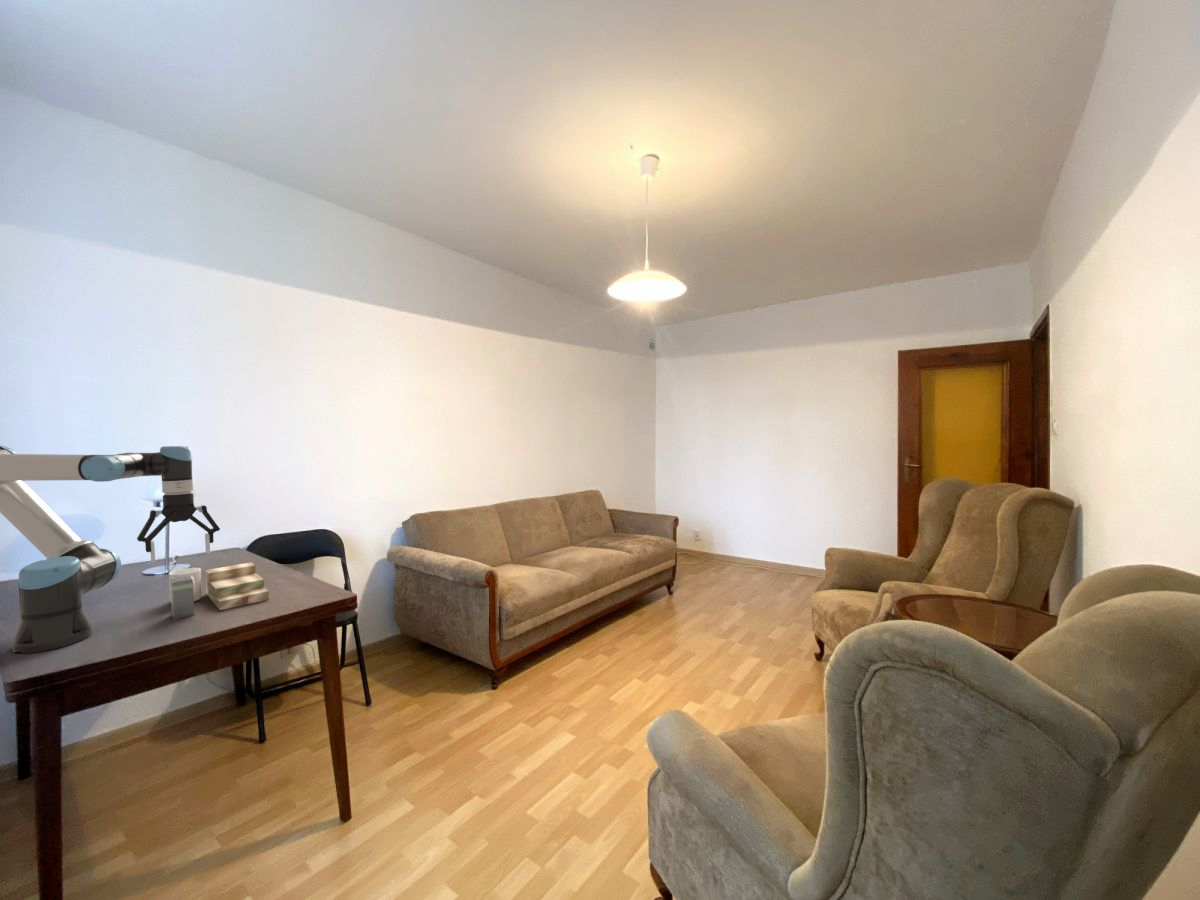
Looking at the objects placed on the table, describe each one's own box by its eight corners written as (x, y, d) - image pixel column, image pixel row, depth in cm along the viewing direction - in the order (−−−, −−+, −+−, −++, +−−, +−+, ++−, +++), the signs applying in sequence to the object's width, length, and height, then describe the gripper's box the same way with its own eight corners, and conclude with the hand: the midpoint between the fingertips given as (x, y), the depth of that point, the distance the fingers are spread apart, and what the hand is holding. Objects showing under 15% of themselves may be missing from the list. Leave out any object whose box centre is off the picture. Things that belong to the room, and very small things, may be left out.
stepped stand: (220, 610, 160) (219, 584, 160) (206, 593, 177) (205, 570, 176) (269, 599, 171) (268, 574, 170) (252, 584, 187) (251, 562, 187)
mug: (178, 608, 162) (177, 577, 162) (166, 601, 169) (165, 572, 168) (209, 600, 169) (208, 571, 169) (196, 594, 176) (195, 566, 175)
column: (173, 619, 153) (172, 582, 152) (171, 615, 156) (169, 579, 156) (194, 614, 157) (193, 579, 156) (191, 610, 160) (190, 575, 160)
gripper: (125, 498, 143) (129, 567, 144) (228, 490, 162) (231, 551, 163) (123, 496, 148) (127, 563, 149) (223, 488, 167) (226, 547, 168)
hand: (181, 557), depth 156 cm, fingers open, 13 cm apart
